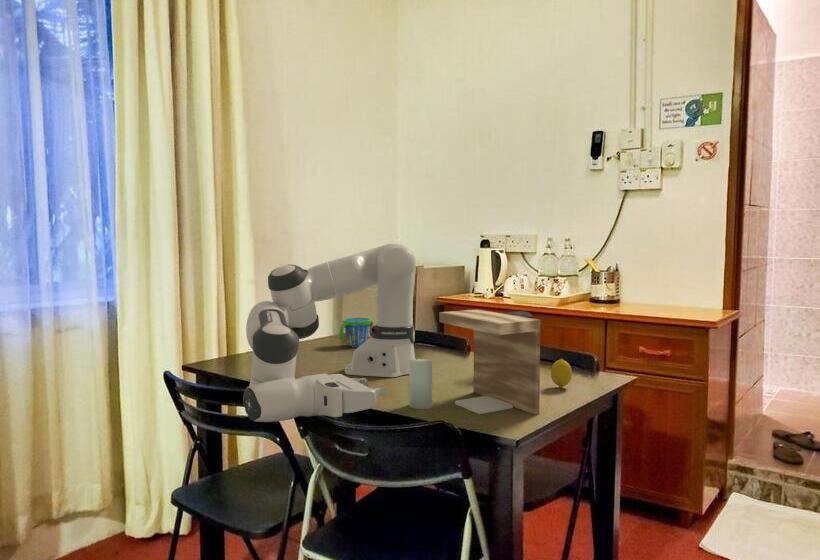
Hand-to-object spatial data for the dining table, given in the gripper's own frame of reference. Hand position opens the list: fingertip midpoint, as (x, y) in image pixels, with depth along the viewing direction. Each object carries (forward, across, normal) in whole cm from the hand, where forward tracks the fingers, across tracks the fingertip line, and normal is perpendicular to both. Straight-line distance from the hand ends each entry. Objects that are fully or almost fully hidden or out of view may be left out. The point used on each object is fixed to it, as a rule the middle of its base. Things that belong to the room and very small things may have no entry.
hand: (376, 386), depth 142 cm
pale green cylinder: (+12, 0, -6) cm, 14 cm away
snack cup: (+34, -83, -7) cm, 90 cm away
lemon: (+54, +4, -7) cm, 55 cm away
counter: (+26, +8, -6) cm, 28 cm away
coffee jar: (+56, -17, -7) cm, 59 cm away
